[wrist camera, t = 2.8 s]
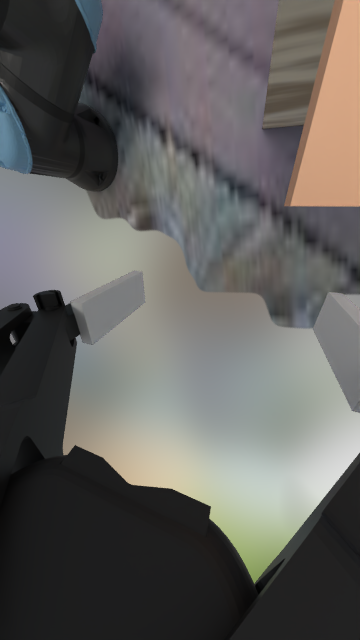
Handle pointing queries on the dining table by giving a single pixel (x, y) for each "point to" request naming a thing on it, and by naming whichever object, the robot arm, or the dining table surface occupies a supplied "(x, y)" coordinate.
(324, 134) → the lever bar
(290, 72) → the pedestal
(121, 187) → the dining table surface
